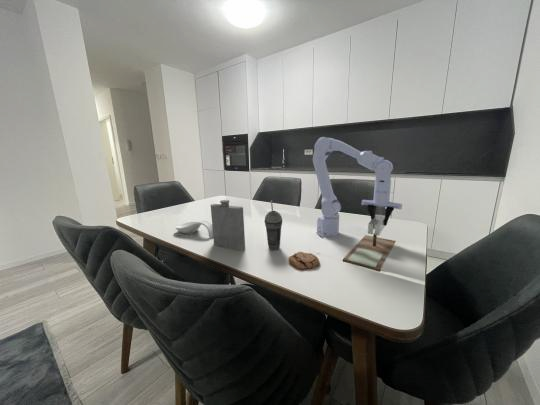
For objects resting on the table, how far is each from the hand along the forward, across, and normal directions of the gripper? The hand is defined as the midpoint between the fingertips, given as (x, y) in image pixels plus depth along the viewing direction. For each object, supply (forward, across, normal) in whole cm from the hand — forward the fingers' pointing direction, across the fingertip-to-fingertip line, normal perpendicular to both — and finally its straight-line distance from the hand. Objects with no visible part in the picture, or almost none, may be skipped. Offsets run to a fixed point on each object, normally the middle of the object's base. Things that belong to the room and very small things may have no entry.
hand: (379, 223), depth 91 cm
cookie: (+9, +17, +32) cm, 38 cm away
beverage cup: (+9, +33, +28) cm, 44 cm away
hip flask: (+9, +50, +38) cm, 63 cm away
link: (+1, 0, +3) cm, 4 cm away
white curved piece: (+9, +75, +36) cm, 84 cm away
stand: (+8, 0, +10) cm, 13 cm away
